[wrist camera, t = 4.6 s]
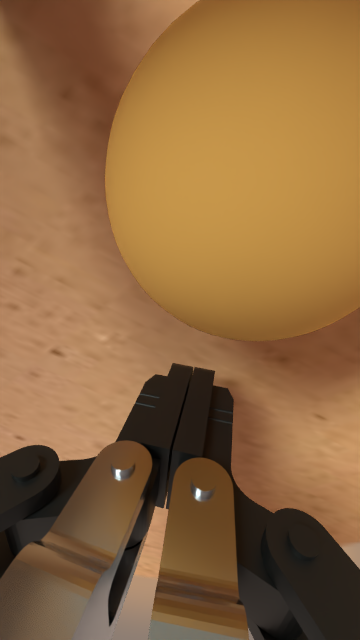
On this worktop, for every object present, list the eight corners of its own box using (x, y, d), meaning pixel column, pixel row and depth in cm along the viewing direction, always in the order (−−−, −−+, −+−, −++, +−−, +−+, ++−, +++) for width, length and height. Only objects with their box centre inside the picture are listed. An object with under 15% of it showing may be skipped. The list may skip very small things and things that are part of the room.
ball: (56, 351, 6) (140, 222, 10) (332, 431, 6) (300, 271, 10) (-42, -272, 2) (174, -44, 6) (916, 43, 2) (448, 44, 6)
